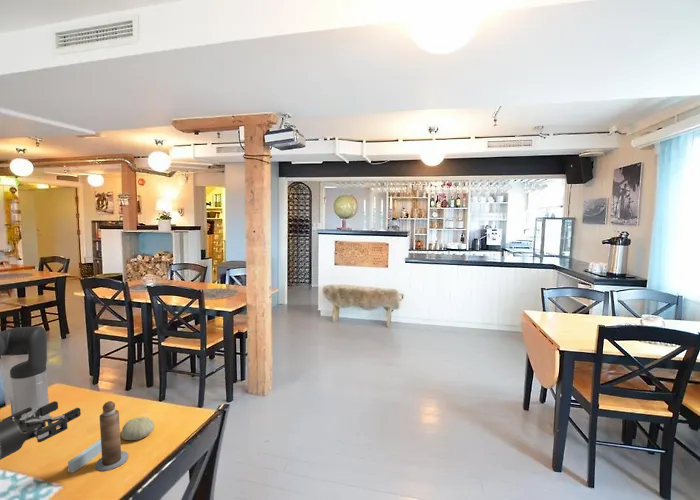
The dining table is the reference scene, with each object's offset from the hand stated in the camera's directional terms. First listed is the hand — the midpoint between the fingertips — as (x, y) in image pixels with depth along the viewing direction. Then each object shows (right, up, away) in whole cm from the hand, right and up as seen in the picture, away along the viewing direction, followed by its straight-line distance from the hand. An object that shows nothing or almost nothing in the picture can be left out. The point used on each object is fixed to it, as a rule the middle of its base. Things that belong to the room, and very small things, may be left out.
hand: (68, 407), depth 93 cm
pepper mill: (+3, -20, +12) cm, 24 cm away
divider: (-4, -21, +13) cm, 25 cm away
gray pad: (+3, -21, +12) cm, 24 cm away
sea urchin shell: (+3, -20, +25) cm, 32 cm away
